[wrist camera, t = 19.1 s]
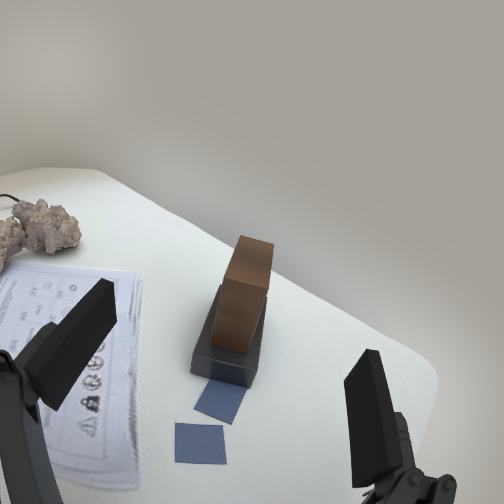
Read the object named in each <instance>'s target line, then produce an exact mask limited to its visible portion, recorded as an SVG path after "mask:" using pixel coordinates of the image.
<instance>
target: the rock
mask: <svg viewBox="0 0 504 504" xmlns="http://www.w3.org/2000/svg"><path fill="white" fill-rule="evenodd" d="M12 214H13V215H14V216H12V217H9V218H7V219H6V222H5V221H3V220H0V273H1V272H2V270H3V268H4V262H5V261H6V259H7V258H9V257H10V256H11V255H14V254H15V253H18V252H20V251H22V248H24V247H26V248H27V249H28V250H34V251H35V252H36V250H37V249H38V247H39V246H40V245H45V247H46V252H47V253H49V254H50V255H54V252H55V251H56V250H57V249H59V250H62V247H64V248H68V247H76V246H77V243H79V239H80V237H81V236H82V234H81V232H80V230H79V227H78V221H77V219H76V218H75V217H73V216H72V217H71V216H69V214H68V213H66V211H65V209H64V208H63V207H62V206H61V205H60V206H54V207H53V206H51V207H50V208H48V205H47V202H45V201H44V200H43V199H39V200H38V201H37V204H36V205H34V204H32V203H29V202H25V201H19V202H18V204H14V205H13V208H12ZM14 217H16V218H18V219H19V220H20V223H17V220H14Z"/></svg>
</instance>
